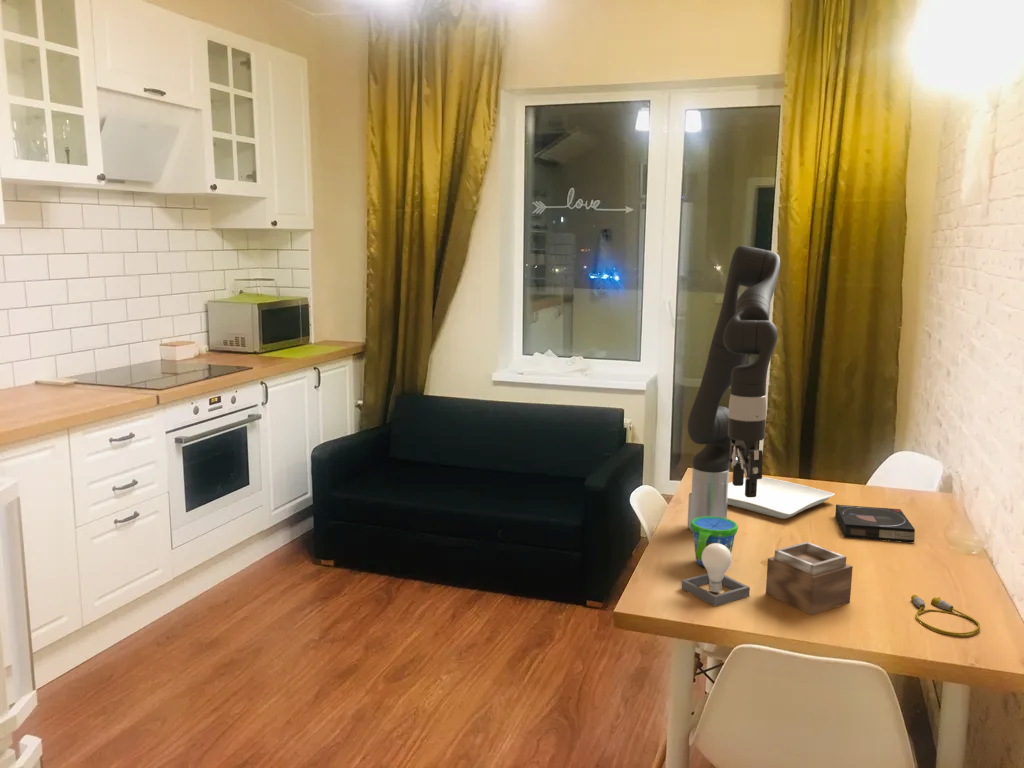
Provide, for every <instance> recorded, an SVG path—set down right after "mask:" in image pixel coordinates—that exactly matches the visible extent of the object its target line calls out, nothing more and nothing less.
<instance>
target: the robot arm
mask: <svg viewBox="0 0 1024 768" xmlns="http://www.w3.org/2000/svg"><path fill="white" fill-rule="evenodd" d="M780 268H781V259H780V255H779V253H777V252H774V251H772V250H767V249H763V248H758V247H753V246H747V245H738V246H737V247H736V248H735V249H734V251H733V254H732V257H731V259H730V264H729V268H728V272H727V278H726V283H725V288H724V295H723V298H722V304H721V308H720V312H719V316H718V318H717V322H716V327H715V329H714V333H713V337H712V339H711V344H710V347H709V351H708V355H707V360H706V364H705V368H704V371H703V375H702V378H701V382H700V385H699V387H698V391H697V394H696V397H695V399H694V401H693V405H692V407H691V409H690V412H689V416H688V419H687V432H688V433H687V434H688V436H689V438H690V440H691V441H692V442H693V443H695V444H698V445H705V446H704V447H703V448H702V449H701V450H700V451H699V452H698V453H696V454H695V455H694V456H693V458H692V470H691V471H692V474H691V475H692V477H691V478H692V479H691V492H690V493H689V494H688V504H687V505H688V506H687V529H689V530H690V532H691V533H693V530H692V528H691V522H692V520H693V519H695V518H698V517H704V516H713V517H721V518H726V519H728V518H727V517H728V504H727V502H728V483H730V482H729V481H730V479H729V478H730V477H729V476H730V464H731V468H732V481H731V482H732V483H733V485H734V486H742V485H743V482H744V478H746V479H745V496H746V497H756V493H757V480H758V479H762V477H763V449H758V448H757V442H759V441H764V439H765V438H766V425H767V424H766V423H767V400H766V399H767V398H766V393H767V378H768V377H767V375H768V371H769V370H768V369H769V365H770V362H771V358H772V356H773V354H774V353H773V352H774V350H775V347H776V344H777V342H778V336H779V334H778V333H779V332H778V328H777V327H776V324H774V322H772V321H771V320H770V313H771V311H770V310H771V302H772V299H773V296H774V293H775V289H776V286H777V282H778V277H779V273H780ZM740 286H741V287H742V286H743V287H747V289H745V290H744V291H743V292H742V293H741V294H740V295H739V288H740ZM749 355H757V356H758V357H757V359H756V360H754V362H753V361H752V362H751V363H748V364H746V363H747V360H748V356H749ZM729 388H730V395H729V402H728V407H725V406H722V405H720V404H721V401H722V399H723V398H724V395H725V394H726V393H727V391H728V390H729Z"/></svg>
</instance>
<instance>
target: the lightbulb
mask: <svg viewBox="0 0 1024 768" xmlns="http://www.w3.org/2000/svg"><path fill="white" fill-rule="evenodd" d="M732 562H733V556H732V552H730V551H729V549H728V548H727V547H726V546H724V545H722V544H719V543H712V544H710V545H708V546H706V547H705V549H704V550H703V552H702V563H703V565H704V567H703V568H705V570H706V572H707V573H708V577H709V583H708V591H709V592H710V593H712V594H719V593H722V588H723V587H722V586H723V585H722V580H723V578H724V575H726V574H725V573H726V572H727V571H728V570H729V569H730V567H731V565H732ZM707 573H706V574H707Z"/></svg>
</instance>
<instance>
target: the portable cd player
mask: <svg viewBox="0 0 1024 768" xmlns="http://www.w3.org/2000/svg"><path fill="white" fill-rule="evenodd" d="M835 517H836V518H835ZM834 518H835V519H836V521H837V522H836V523H837V524H838V526H839V528H840V530H841V533H842V535H843V537H844V538H845V539H847V538H849V539H858V540H860V539H861V540H872V541H873V540H874V541H882V540H887V542H895V541H901V542H900V543H907V542H914V543H915V539H916V538H915V537H916V535H915V533H916V529H915V527H914V526H913V525H912V523H911V522H910V521H909V519H908V518H907V516H906V515H905V514H904V512H903V511H902V509H900V508H888V507H873V506H862V505H861V506H859V505H844V504H835V515H834ZM888 540H890V541H888Z"/></svg>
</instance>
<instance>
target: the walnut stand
mask: <svg viewBox="0 0 1024 768" xmlns="http://www.w3.org/2000/svg"><path fill="white" fill-rule="evenodd" d="M766 565H767V567H766V568H767V569H766V580H765V581H766V582H765V583H766V584H765V586H766V587H765V594H766V595H768V596H770V597H772V598H774V599H777V600H778V601H780V602H783V603H785V604H787V605H789V606H792V607H793V608H795V609H797V610H800V611H801V612H804V613H806V614H809V615H811V616H813V615H816V614H819V613H822V612H825V611H829V610H831V609H834V608H837V607H840V606H843V605H845V604H848V603H850V602H851V593H852V581H853V580H852V579H853V578H852V577H853V565H850V564H848V563H847V556H846V555H844V554H841V553H838V552H836V551H832V550H830V549H827V548H825V547H822V546H820V545H817V544H814V543H812V542H809V541H804V542H800V543H797V544H796V543H795V544H793V545H790V546H785V547H781V548H779V549H775V550H774V556H772V557H768V558H767V564H766Z"/></svg>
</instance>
